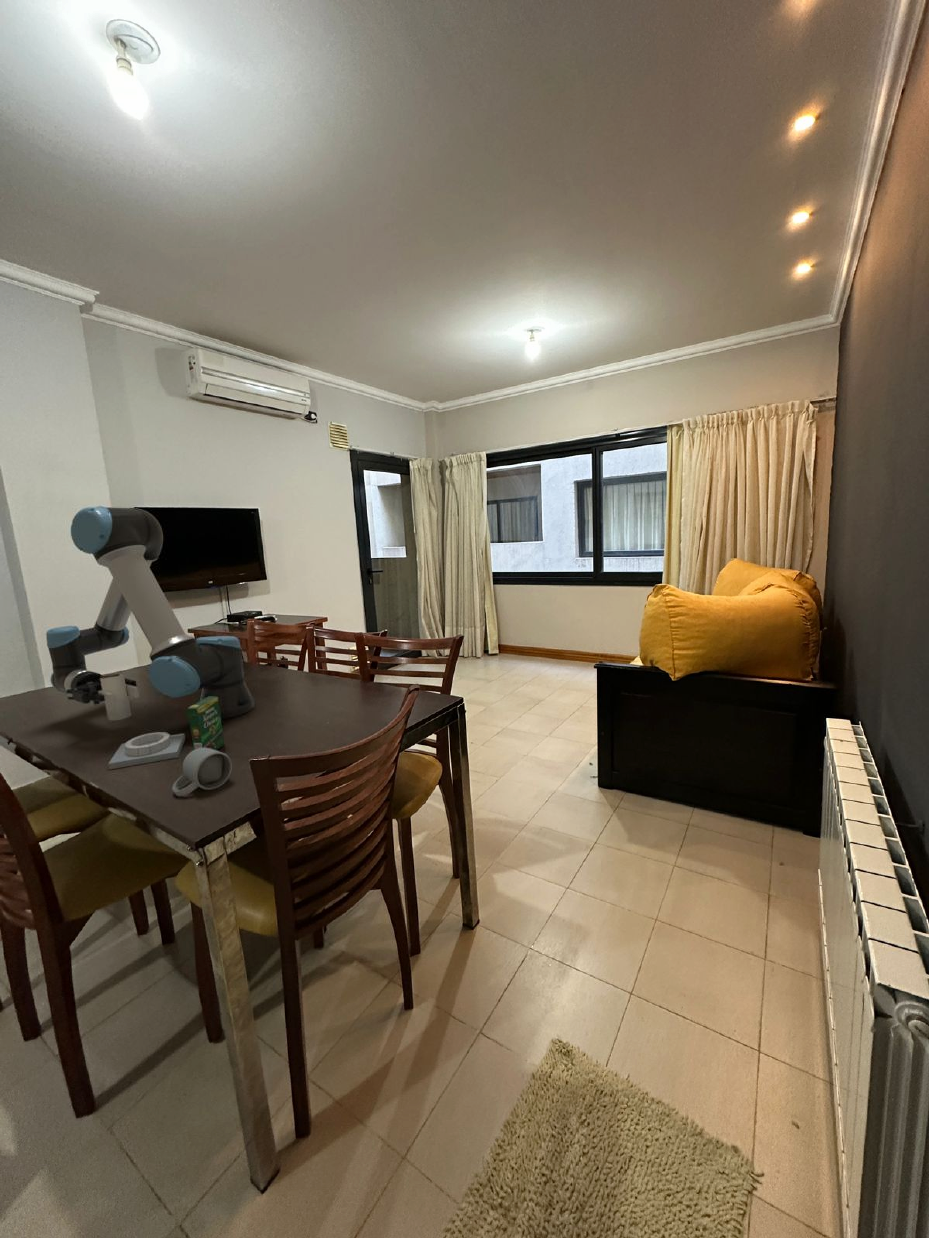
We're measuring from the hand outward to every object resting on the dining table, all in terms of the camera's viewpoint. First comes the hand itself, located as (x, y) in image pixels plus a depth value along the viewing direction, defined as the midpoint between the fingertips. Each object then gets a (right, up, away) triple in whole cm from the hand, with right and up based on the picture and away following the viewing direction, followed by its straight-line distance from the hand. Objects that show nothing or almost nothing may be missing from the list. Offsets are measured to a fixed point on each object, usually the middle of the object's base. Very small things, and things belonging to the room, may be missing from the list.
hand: (124, 695), depth 125 cm
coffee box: (+24, -14, -3) cm, 27 cm away
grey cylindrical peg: (-4, -6, +4) cm, 8 cm away
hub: (+8, -14, -3) cm, 16 cm away
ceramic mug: (+30, -16, -20) cm, 40 cm away
